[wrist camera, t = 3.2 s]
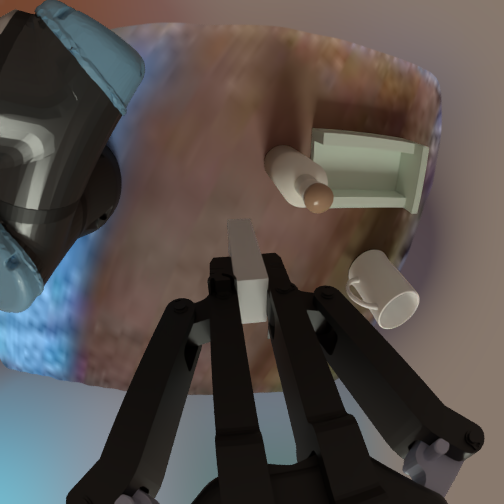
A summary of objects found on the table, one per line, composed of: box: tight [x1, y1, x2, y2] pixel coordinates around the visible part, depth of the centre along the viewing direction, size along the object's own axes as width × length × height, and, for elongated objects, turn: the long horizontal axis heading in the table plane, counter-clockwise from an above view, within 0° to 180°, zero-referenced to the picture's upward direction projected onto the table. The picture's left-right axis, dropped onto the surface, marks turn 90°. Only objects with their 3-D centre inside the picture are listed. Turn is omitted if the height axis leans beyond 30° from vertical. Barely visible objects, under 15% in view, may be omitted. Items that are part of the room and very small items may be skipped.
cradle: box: [311, 128, 429, 213], centre depth 35 cm, size 16×10×6 cm, turn 90°
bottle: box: [264, 145, 334, 213], centre depth 31 cm, size 5×5×14 cm
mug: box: [346, 250, 419, 329], centre depth 43 cm, size 12×8×12 cm
